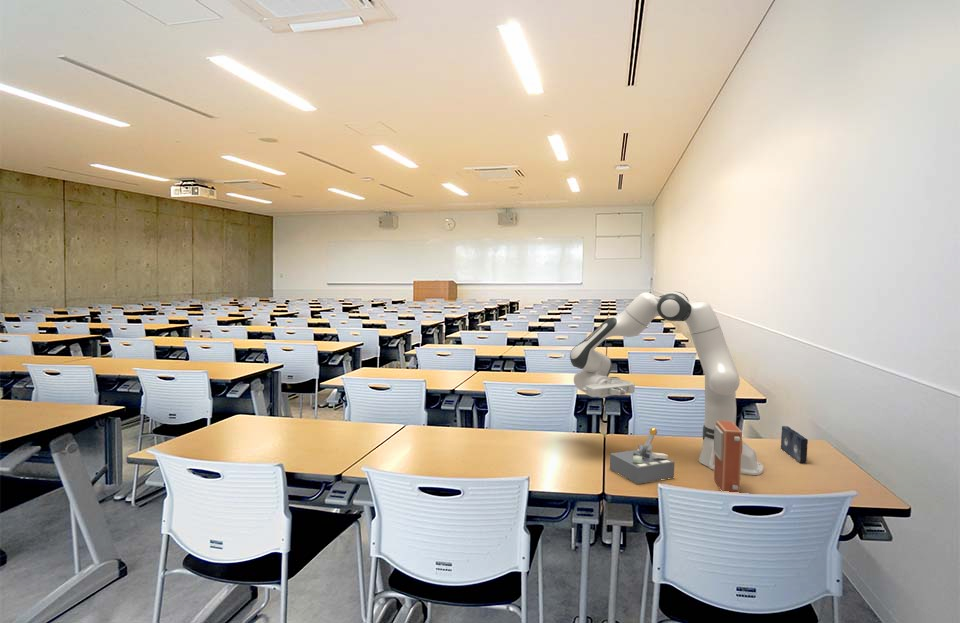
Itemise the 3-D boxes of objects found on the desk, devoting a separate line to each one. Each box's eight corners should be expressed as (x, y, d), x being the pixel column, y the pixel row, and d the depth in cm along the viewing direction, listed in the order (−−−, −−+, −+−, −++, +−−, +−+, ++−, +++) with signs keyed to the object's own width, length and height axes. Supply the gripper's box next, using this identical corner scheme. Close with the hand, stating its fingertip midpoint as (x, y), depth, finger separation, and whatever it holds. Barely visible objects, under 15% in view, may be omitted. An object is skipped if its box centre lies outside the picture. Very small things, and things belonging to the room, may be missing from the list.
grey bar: (639, 451, 200) (637, 445, 201) (651, 449, 202) (649, 444, 203) (640, 451, 199) (639, 445, 200) (652, 449, 201) (651, 443, 202)
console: (609, 469, 199) (610, 449, 199) (644, 463, 205) (644, 444, 205) (637, 484, 185) (638, 463, 184) (673, 478, 191) (674, 457, 190)
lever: (637, 452, 195) (649, 426, 188) (643, 451, 196) (655, 426, 189) (641, 457, 193) (653, 431, 186) (647, 456, 194) (659, 431, 187)
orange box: (731, 479, 190) (743, 496, 175) (710, 478, 191) (720, 494, 177) (733, 420, 188) (745, 432, 174) (712, 419, 190) (722, 431, 175)
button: (631, 461, 190) (631, 456, 190) (638, 460, 191) (638, 455, 191) (636, 464, 187) (637, 458, 187) (643, 463, 188) (643, 457, 188)
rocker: (651, 455, 193) (652, 452, 193) (662, 456, 195) (663, 453, 195) (656, 458, 190) (657, 454, 190) (667, 458, 192) (668, 455, 192)
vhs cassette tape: (806, 464, 206) (808, 439, 206) (798, 464, 207) (799, 438, 206) (788, 449, 224) (789, 426, 224) (780, 449, 225) (781, 425, 224)
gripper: (579, 381, 213) (599, 387, 200) (621, 376, 221) (643, 382, 208) (579, 396, 213) (599, 403, 201) (621, 391, 221) (643, 398, 208)
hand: (622, 392), depth 204 cm, fingers closed
